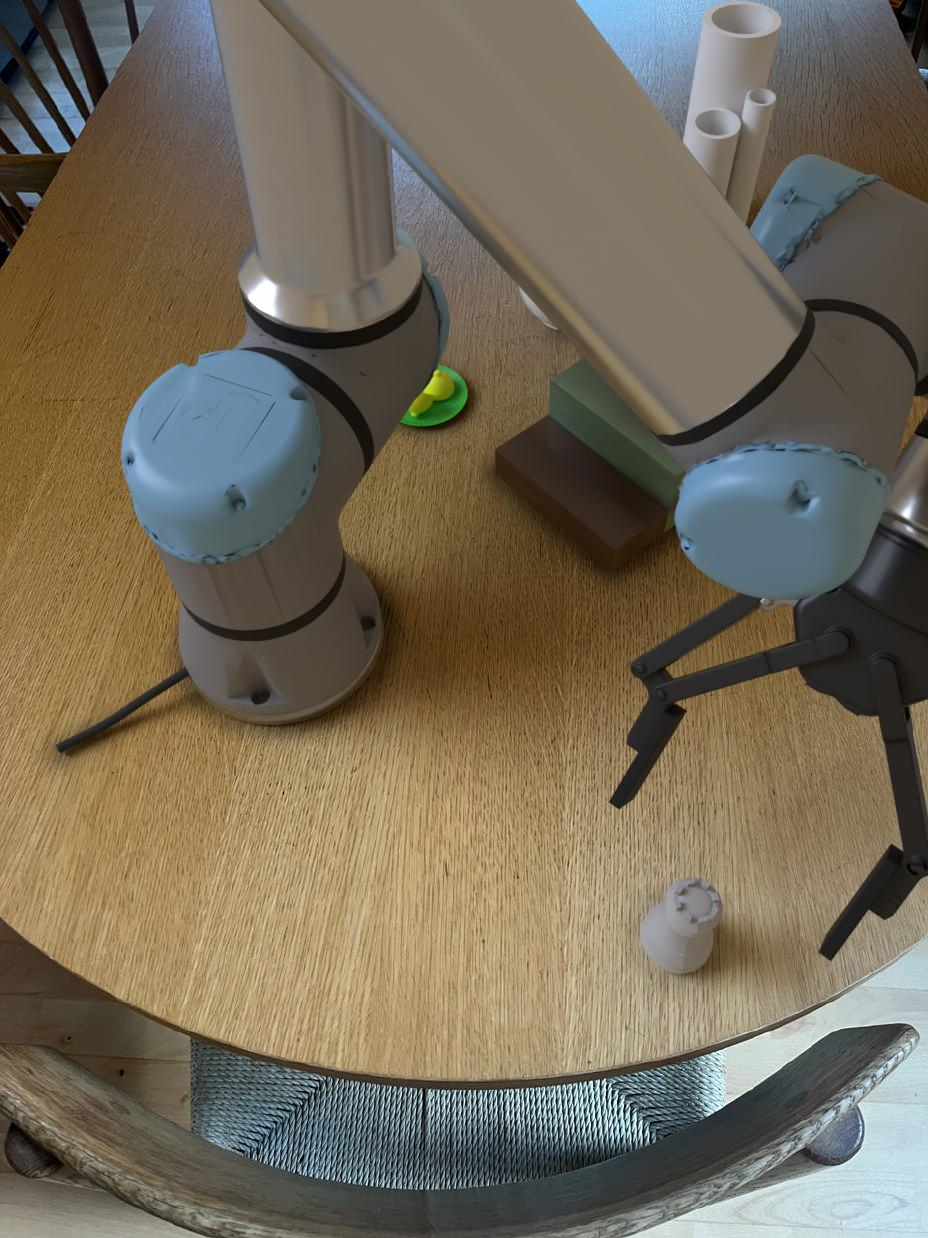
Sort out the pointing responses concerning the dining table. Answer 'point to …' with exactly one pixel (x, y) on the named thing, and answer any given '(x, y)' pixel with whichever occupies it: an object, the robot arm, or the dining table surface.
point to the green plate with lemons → (438, 399)
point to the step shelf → (594, 469)
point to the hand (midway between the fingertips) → (719, 871)
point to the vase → (733, 97)
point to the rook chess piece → (682, 926)
